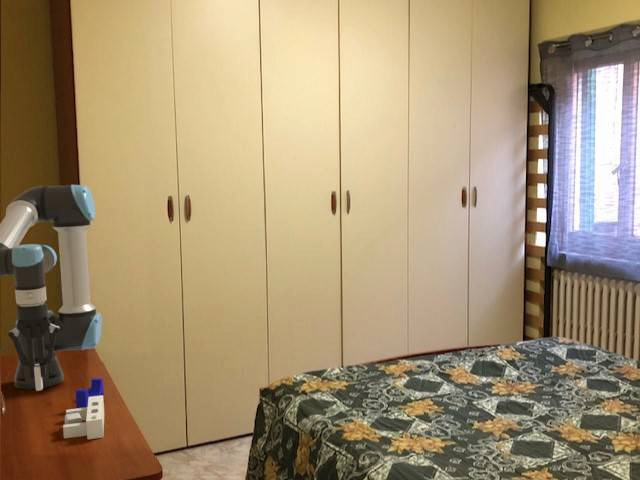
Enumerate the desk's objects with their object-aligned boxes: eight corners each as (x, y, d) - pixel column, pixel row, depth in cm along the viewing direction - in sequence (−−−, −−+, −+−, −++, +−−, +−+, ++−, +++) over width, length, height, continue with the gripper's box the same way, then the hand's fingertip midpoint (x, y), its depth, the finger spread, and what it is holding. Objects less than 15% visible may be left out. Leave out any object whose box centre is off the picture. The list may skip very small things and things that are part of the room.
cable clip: (90, 397, 221) (88, 378, 220) (104, 397, 220) (102, 378, 220) (72, 410, 209) (70, 391, 208) (86, 411, 209) (85, 391, 208)
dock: (67, 416, 204) (66, 398, 204) (104, 411, 207) (103, 394, 206) (63, 442, 185) (61, 423, 184) (103, 437, 188) (102, 418, 187)
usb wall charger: (67, 434, 191) (66, 420, 190) (64, 426, 197) (63, 412, 196) (82, 431, 193) (81, 417, 192) (79, 423, 199) (78, 409, 198)
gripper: (3, 308, 183) (11, 396, 187) (56, 304, 187) (64, 390, 190) (7, 302, 191) (15, 387, 194) (58, 298, 194) (65, 381, 198)
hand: (39, 388), depth 192 cm, fingers closed
